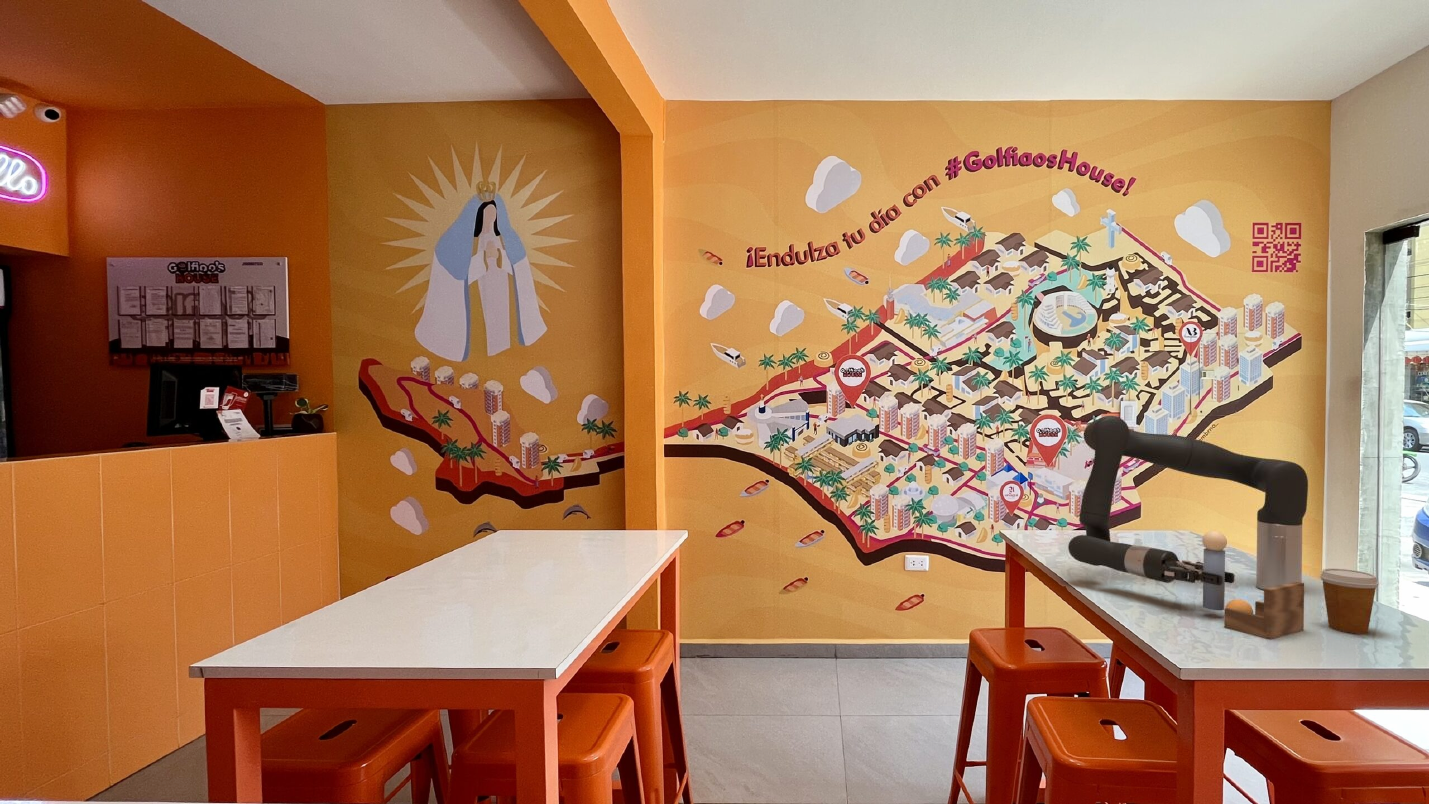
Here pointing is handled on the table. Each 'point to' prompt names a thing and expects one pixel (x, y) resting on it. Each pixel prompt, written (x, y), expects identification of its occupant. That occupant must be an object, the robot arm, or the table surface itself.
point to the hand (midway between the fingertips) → (1227, 579)
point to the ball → (1239, 606)
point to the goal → (1271, 613)
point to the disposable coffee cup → (1349, 599)
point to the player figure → (1214, 569)
